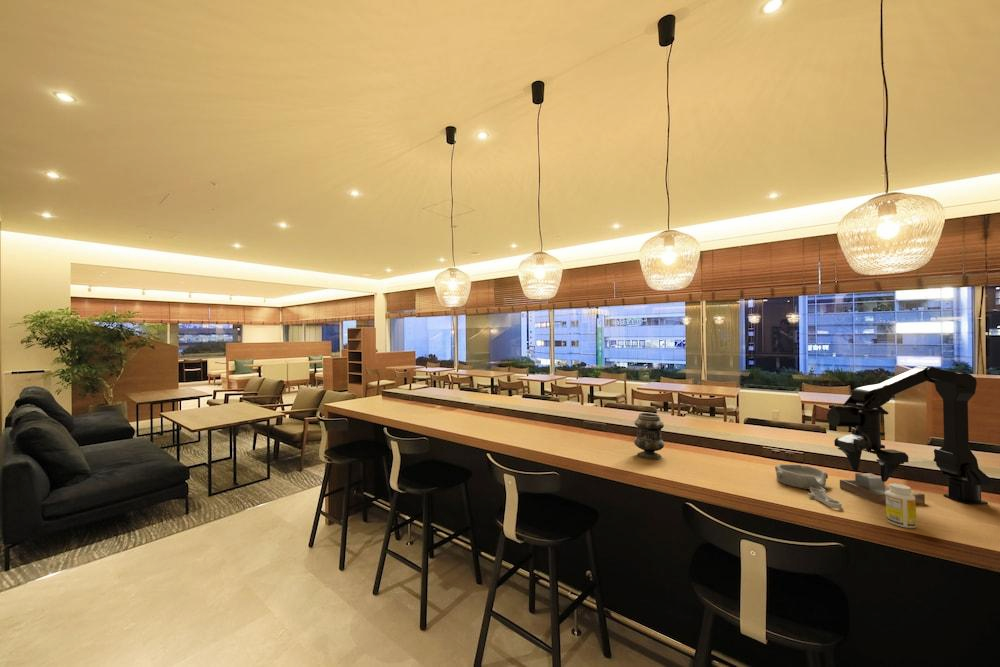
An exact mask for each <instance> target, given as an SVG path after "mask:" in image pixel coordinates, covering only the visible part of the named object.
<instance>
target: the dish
mask: <svg viewBox="0 0 1000 667" xmlns="http://www.w3.org/2000/svg"><path fill="white" fill-rule="evenodd" d="M774 469H775V470H774V471H775V473H776V479H777V480H778V482H781V484H784V485H787V486H790V487H795V488H799V489H805V490H810V486H811V487H812V488H816V486H820V487H822V488H825V487H826V482H827V479H828V477H829V473H827V472H826V471H824V470H822V469H819V468H817V467H813V466H809V465H801V464H791V463H789V464H788V463H787V464H784V463H783V464H782V463H781V464H779V465H775V467H774Z"/></svg>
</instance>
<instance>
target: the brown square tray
mask: <svg viewBox="0 0 1000 667" xmlns="http://www.w3.org/2000/svg"><path fill="white" fill-rule="evenodd" d="M839 488H840V489H842V490H844V491H847V492H848V493H852V494H854V495H856V496H858V497H861V498H863V499H866V500H868V501H870V502H872V503H876V504H878V505H879V504H880V505H881V504H882V505H884V504H885V505H886V491H887V490H890V488H889V485H885V494H877V493H875V492H872V491H870V490H867V489H865V488H862V487H859V486H857V485H856V484H855V479H839ZM911 494H912V495H913V496H915V499H916V504H925V503H926V500H925V499H926V495H925V494H924V493H911Z"/></svg>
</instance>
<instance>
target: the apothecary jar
mask: <svg viewBox="0 0 1000 667" xmlns="http://www.w3.org/2000/svg"><path fill="white" fill-rule="evenodd" d="M634 426H636V427H637V433H636V434H637V435H636V437H635V439H634V440H633V442H634V445H635V446H636V447H637V448H639V449H641V450H643V451H640V452H637V454H636V456H637V457H639V458H641V459H645V460H653V461H654V460H660V459H662V455H661V454H660V453H657V451H661V450H662V449H663V448H664V447H665V443H664V440H663V439H662V429H663V428H664V426H665V423H664V422H663V420H662V419H661V416H660V415H659V414H658V413H651V412H639V413H638V417H637V418H636V419H635V420H634Z"/></svg>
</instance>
